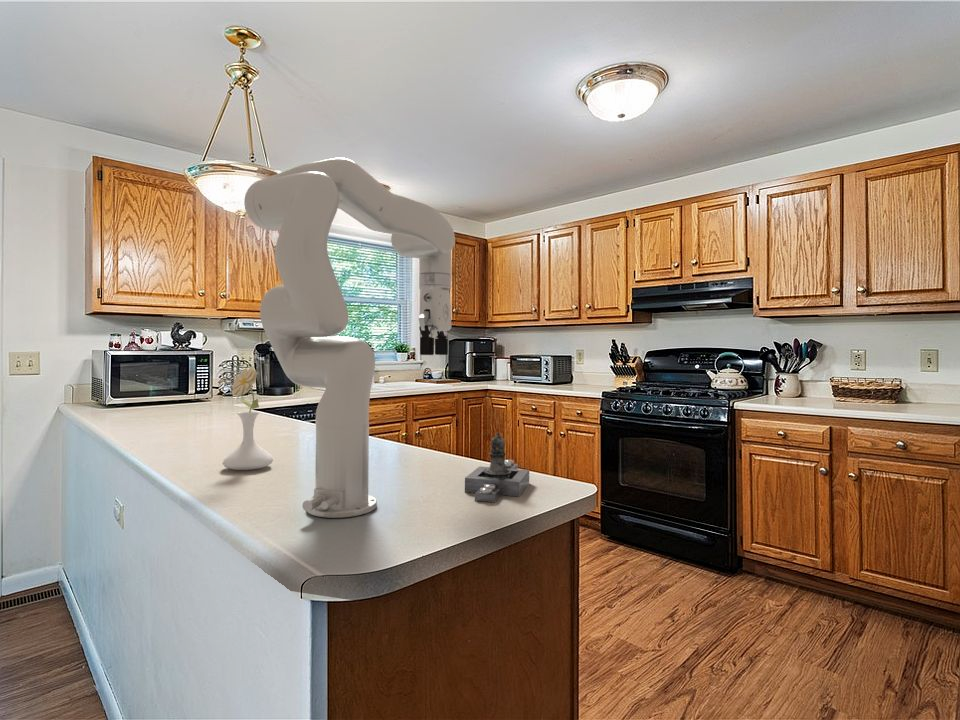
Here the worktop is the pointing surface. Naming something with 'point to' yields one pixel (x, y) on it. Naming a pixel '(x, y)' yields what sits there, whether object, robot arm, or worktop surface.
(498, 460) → the salt shaker
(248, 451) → the flower in vase
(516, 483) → the frame
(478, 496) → the chain end near
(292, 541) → the worktop surface
